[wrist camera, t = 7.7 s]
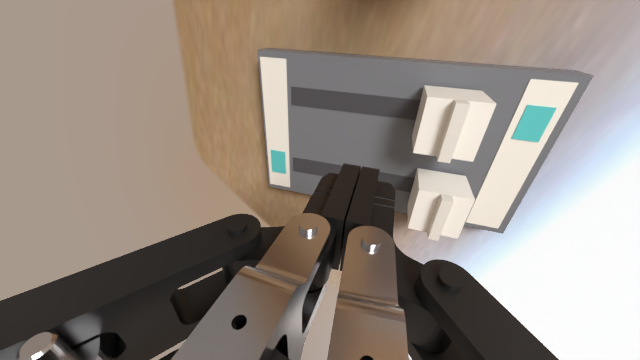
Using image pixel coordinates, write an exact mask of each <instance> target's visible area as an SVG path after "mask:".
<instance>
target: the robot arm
mask: <svg viewBox="0 0 640 360" xmlns="http://www.w3.org/2000/svg"><path fill="white" fill-rule="evenodd" d="M379 171H380V169H376V168H370V167H364V166H362V169H361V166H357V165H351V164H345V163H344V164H343V166H342V168H341V171H340V173H339V174H335V173H328V174H327V175H325V176H324V177H322V178H321V180H320V182H319V183H318V186H317V187H316V189H315V191H314V193H313V195H312V196H311V198H310V200H309V202H308V204H307V206H306V208H305V209H304V211H303V213H302V214H299V215H296V216H294V217H293V218H291V219H290V220H289V221H288V223H287V224H286V226H282V227H261V226H260V222H259V220H258V219H257V218H255V217H254V216H252V215H248V214H236V215H232V216H229V217H226V218H223V219H220V220H218V221H215V222H212V223H210V224H207V225H204V226H202V227H199V228H196V229H193V230H191V231H188V232H185V233H183V234H180V235H177V236H175V237H172V238H169V239H166V240H164V241H161V242H159V243H156V244H153V245H150V246H148V247H145V248H142V249H139V250H137V251H134V252H131V253H129V254H126V255H123V256H121V257H118V258H115V259H112V260H110V261H107V262H104V263H102V264H99V265H96V266H94V267H91V268H88V269H85V270H83V271H80V272H78V273H75V274H72V275H70V276H67V277H64V278H61V279H59V280H56V281H53V282H50V283H48V284H45V285H42V286H40V287H37V288H34V289H32V290H29V291H26V292H24V293H21V294H18V295H15V296H13V297H10V298H7V299H5V300H2V301H0V360H150V359H152V358H153V357H155V356H157V355H159V354H160V353H162V352H164V351H165V350H167V349H169V348H171V347H173V346H175V345H176V344H178V343H180V342H181V341H183V340H185V339H186V341H185V342H184V343H183V344H182V346H181V347H180V349H177V350H175V351H173V352H171V353H169V354H168V355H166V356H164V357H163V358H161V359H159V360H300V358H301V355H302V350H303V346H304V342H305V339H306V336H307V334H308V331H309V329H310V326H311V324H312V321H313V319H314V316H315V313H316V311H317V309H318V306H319V303H320V301H321V298H322V296H323V293H324V291H325V288H326V282H327V280H328V278H329V274H330V271H331V268H332V269H336V270H338V269H339V265H340V261H341V266H340V271H342V275H341V282H340V288H339V294H338V297H337V303H336V309H335V316H334V321H333V327H332V333H331V340H330V346H329V352H328V358H327V360H409V359H408V353H409V355H410V357H411V358H412V360H558V359H557V358H556V357H555V356H554V355H553V354H552V353H551V352H550V351H549V350H548V349H547V348H546V347H545V346H544V345H543V344H542V343H541V342H540V341H539V340H538V339H537V338H536V337H535V336H534V335H533V334H531V333H530V332H529V331H528V330H527V329H526V328H525V327H524V326H523V325H522V324H521V323H520V322H519V321H518V320H517V319H516V318H515V317H514V316H513V315H512V314H511V313H510V312H509V311H508V310H507V309H506V308H505V307H503V306H502V305H501V304H500V303H499V302H498V301H497V300H496V299H495V298H494V297H493V296H492V295H491V294H490V293H489V292H488V291H487V290H486V289H485V288H484V287H483V286H482V285H481V284H480V283H479V282H478V281H476V280H475V279H474V278H473V277H472V276H471V275H470V274H469V273H468V272H467V271H466V270H464V269H463V268H462V267H460V266H458V265H456V264H454V263H452V262H449V261H445V260H431V261H429V262H427V263H425V264H424V265H423V264H421V263H419V262H417V261H415V260H413V259H411V258H409V257H408V256H406V255H405V254H403V253H402V252H401V251H400V250H399V249H398V248H397V246H396V245H395V243H394V240H393V225H394V209H395V208H394V207H395V193H396V191H395V189H394V188H393V186H392V184H391V183H387V182H381V181H378V176H379ZM219 268H222V269H223V270H222V271H220V272H218V273H216V274H214V275H211V276H209V277H207V278H205V279H203V280H201V281H199V282H197V283H194V284H192V285H190V286H188V287H186V288H183V289H178V288H179V287H181V286H183V285H185V284H187V283H189V282H191V281H194V280H196V279H198V278H200V277H202V276H204V275H206V274H209V273H211V272H213V271H215V270H217V269H219Z"/></svg>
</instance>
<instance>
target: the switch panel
mask: <svg viewBox="0 0 640 360" xmlns="http://www.w3.org/2000/svg"><path fill="white" fill-rule="evenodd" d="M258 60H259V72H260V84H261V96H262V108H263V120H264V131H265V143H266V155H267V167H268V179H269V187H274V188H279V189H284V190H289V191H294V192H299V193H304V194H309V195H313V193H314V191H315V189H316V187H317V186H318V183H319V182H320V180H321V178H322V177H324V176H325V175H327V174H328V173H335V174H339V173H340V171H341V168H342V166H343V164H344V163H345V164H351V165H357V166H361V169H362V166H364V167H370V168H376V169H380V171H379V176H378V181H381V182H387V183H391V184H392V186H393V188H394V189H395V191H396V193H395V207H394V208H395V209H394V212H398V213H403V214H408V200H409V197H410V193H411V190H412V186H413V182H414V179H415V175H416V172H417V168H420V169H426V170H432V171H438V172H444V173H451V174H457V175H463V176H466V177H467V180H468V183H469V185H470V188H471V190H472V193H473V196H474V198H475V201H474V204H473V206H472V208H471V210H470V212H469V215H468V217H467V219H466V221H465V223H464V226H468V227H473V228H478V229H483V230H488V231H493V232H498V233H503V232H504V230H505V229H506V227H507V225H508V224H509V222H510V220H511V218H512V217H513V215H514V213H515V211H516V210H517V208H518V206H519V204H520V203H521V201H522V199H523V197H524V196H525V194H526V192H527V190H528V189H529V187H530V185H531V184H532V182H533V180H534V178H535V177H536V175H537V173H538V171H539V170H540V168H541V166H542V164H543V163H544V161H545V159H546V157H547V156H548V154H549V152H550V150H551V149H552V147H553V145H554V144H555V142H556V140H557V138H558V137H559V135H560V133H561V131H562V130H563V128H564V126H565V124H566V123H567V121H568V119H569V117H570V116H571V114H572V112H573V110H574V109H575V107H576V105H577V103H578V102H579V100H580V98H581V97H582V95H583V93H584V91H585V90H586V88H587V86H588V84H589V83H590V81H591V79H592V77H593V75H590V74H586V73H583V72H579V71H574V70H560V69H547V68H533V67H519V66H506V65H492V64H479V63H465V62H451V61H438V60H424V59H411V58H397V57H383V56H370V55H356V54H343V53H329V52H315V51H302V50H288V49H275V48H266V49H260V50H258ZM424 85H427V86H438V87H448V88H459V89H470V90H480V91H483V92H484V93H485V94H486V95H488V96H489V97H490V98H491V99H492V100H493V101H494V102H495V103H496V107H495V109H494V112H493V114H492V117H491V119H490V122H489V124H488V126H487V129H486V131H485V134H484V136H483V139H482V141H481V144H480V146H479V149H478V151H477V154H476V156H475V158H474V161H473V162H470V161H464V160H457V159H451V162H450V163H444V162H438V161H437V157H436V156H430V155H424V154H417V153H413V143H412V133H413V129H414V125H415V121H416V117H417V113H418V109H419V105H420V101H421V97H422V93H423V88H424Z"/></svg>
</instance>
